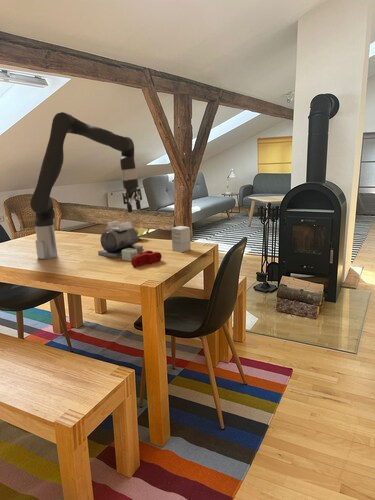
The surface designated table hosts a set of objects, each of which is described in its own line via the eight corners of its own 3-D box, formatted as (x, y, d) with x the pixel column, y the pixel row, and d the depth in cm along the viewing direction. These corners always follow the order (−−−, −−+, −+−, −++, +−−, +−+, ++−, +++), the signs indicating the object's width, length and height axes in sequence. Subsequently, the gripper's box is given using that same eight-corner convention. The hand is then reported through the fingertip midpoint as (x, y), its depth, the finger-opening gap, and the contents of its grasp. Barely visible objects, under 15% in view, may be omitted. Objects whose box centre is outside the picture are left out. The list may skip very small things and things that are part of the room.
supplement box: (181, 247, 216) (180, 225, 213) (191, 249, 211) (190, 227, 208) (171, 250, 211) (170, 227, 208) (181, 252, 206) (180, 229, 203)
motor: (117, 258, 199) (114, 226, 195) (98, 254, 207) (95, 224, 203) (142, 249, 215) (141, 220, 211) (124, 246, 223) (122, 218, 219)
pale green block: (132, 261, 193) (131, 251, 191) (121, 259, 197) (120, 250, 196) (138, 259, 197) (138, 249, 195) (127, 257, 201) (127, 247, 200)
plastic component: (112, 240, 229) (109, 230, 236) (113, 249, 234) (111, 239, 241) (145, 235, 234) (141, 225, 241) (145, 244, 239) (142, 234, 246)
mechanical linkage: (151, 258, 197) (151, 249, 195) (161, 261, 192) (161, 251, 191) (128, 266, 185) (127, 256, 184) (138, 269, 180) (137, 258, 179)
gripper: (130, 177, 199) (135, 208, 203) (115, 180, 187) (120, 213, 191) (143, 176, 196) (147, 208, 200) (128, 179, 184) (133, 213, 188)
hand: (134, 210), depth 196 cm, fingers open, 8 cm apart
